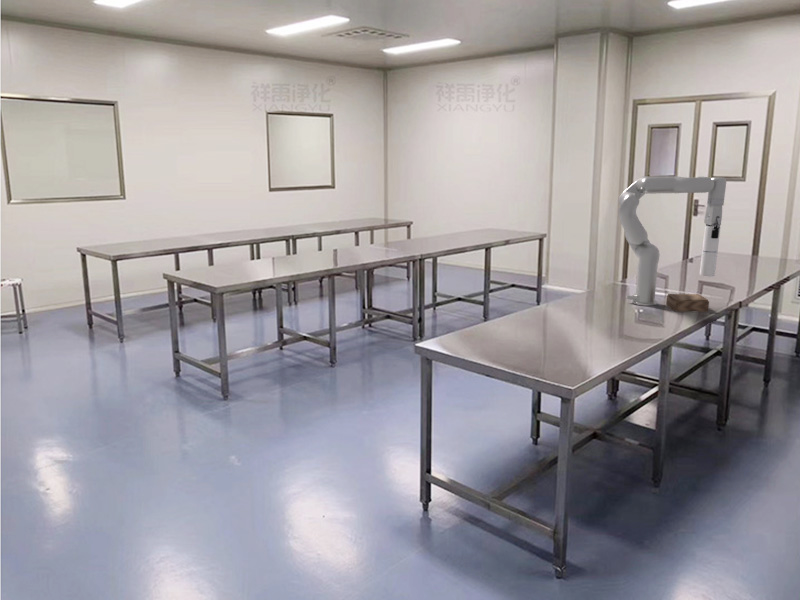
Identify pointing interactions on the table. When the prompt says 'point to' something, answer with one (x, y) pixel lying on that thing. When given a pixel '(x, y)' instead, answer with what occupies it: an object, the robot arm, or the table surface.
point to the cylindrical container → (709, 253)
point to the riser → (687, 302)
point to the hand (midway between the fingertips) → (711, 237)
